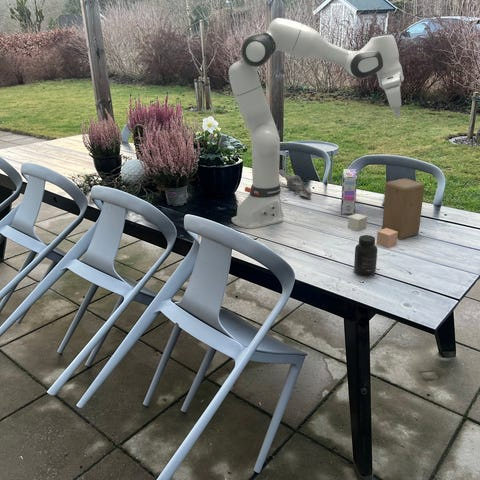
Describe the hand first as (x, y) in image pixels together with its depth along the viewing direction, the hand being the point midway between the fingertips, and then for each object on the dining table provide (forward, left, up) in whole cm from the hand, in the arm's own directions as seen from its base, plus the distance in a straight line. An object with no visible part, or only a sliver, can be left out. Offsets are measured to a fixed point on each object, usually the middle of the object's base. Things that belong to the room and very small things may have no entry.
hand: (398, 114), depth 178 cm
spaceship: (-4, +53, -41) cm, 68 cm away
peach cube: (-24, -17, -41) cm, 51 cm away
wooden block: (-12, -14, -41) cm, 45 cm away
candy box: (-6, +17, -41) cm, 45 cm away
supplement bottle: (-47, -26, -41) cm, 68 cm away
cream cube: (-20, 0, -41) cm, 46 cm away
